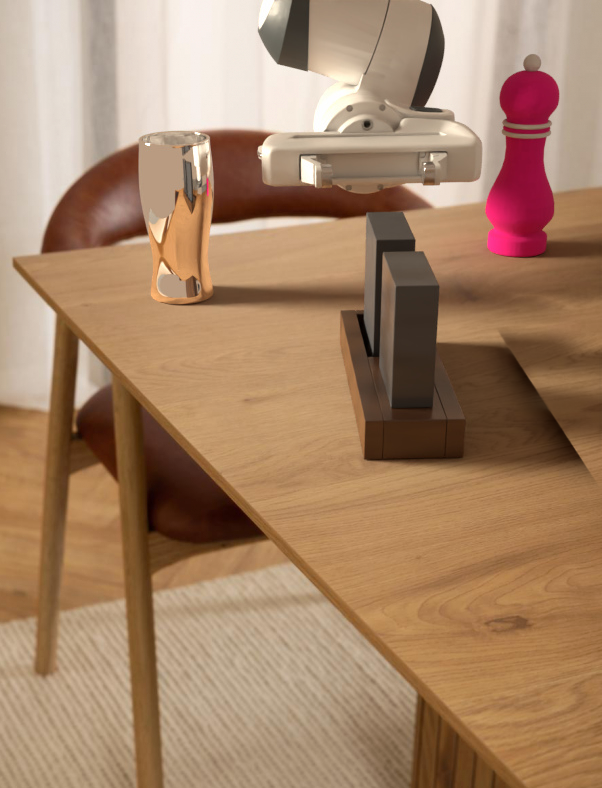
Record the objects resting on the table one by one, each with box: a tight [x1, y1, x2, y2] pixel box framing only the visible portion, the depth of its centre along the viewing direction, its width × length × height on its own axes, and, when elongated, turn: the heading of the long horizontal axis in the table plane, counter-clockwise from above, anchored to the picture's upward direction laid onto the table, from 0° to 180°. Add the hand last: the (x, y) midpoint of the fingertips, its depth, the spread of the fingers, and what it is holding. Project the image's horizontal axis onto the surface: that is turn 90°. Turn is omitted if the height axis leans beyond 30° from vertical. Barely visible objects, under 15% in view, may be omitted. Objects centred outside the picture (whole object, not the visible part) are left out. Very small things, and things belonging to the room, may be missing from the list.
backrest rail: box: [339, 250, 466, 460], centre depth 91 cm, size 23×7×12 cm, turn 2°
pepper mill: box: [484, 53, 560, 258], centre depth 123 cm, size 7×7×20 cm
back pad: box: [363, 211, 417, 358], centre depth 96 cm, size 8×3×12 cm, turn 1°
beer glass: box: [138, 130, 215, 305], centre depth 112 cm, size 7×7×15 cm
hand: (378, 177), depth 103 cm, fingers open, 8 cm apart
